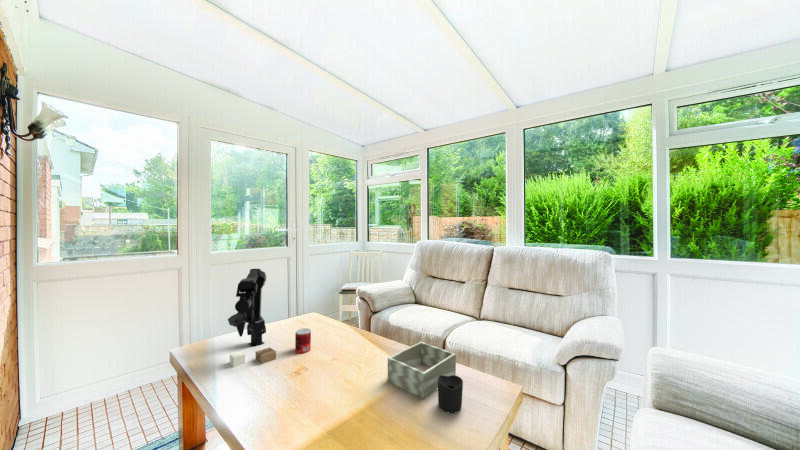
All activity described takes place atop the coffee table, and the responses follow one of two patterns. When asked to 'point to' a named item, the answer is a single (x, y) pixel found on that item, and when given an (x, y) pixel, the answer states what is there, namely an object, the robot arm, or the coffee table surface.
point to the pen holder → (450, 393)
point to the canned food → (303, 340)
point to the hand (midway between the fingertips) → (246, 338)
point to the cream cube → (237, 358)
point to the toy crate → (414, 378)
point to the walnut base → (265, 355)
